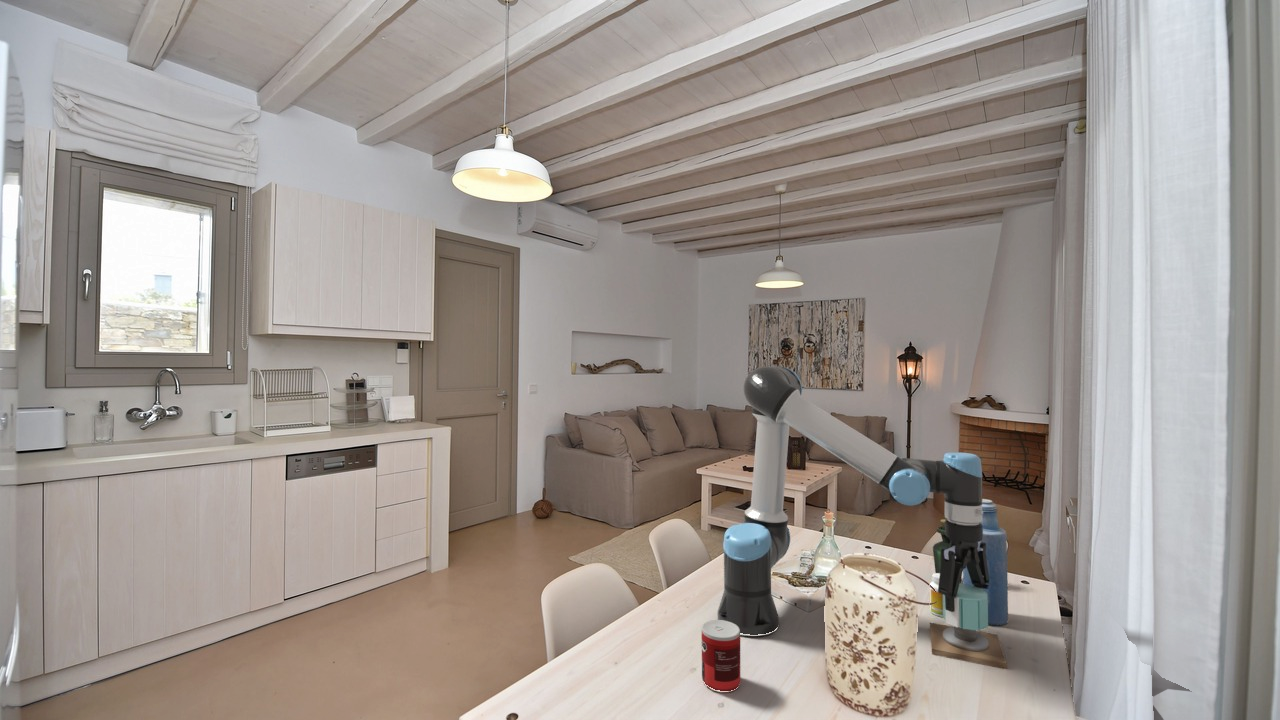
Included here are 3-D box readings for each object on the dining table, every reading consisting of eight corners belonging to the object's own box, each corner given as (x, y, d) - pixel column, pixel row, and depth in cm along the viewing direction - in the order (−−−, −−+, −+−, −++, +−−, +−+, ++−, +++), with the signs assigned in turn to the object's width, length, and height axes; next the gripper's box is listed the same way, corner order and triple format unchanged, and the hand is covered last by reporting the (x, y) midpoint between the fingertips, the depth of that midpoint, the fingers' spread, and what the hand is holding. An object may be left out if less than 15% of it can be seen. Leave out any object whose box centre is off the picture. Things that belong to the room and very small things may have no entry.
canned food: (714, 667, 116) (713, 616, 117) (747, 681, 111) (747, 627, 112) (694, 683, 111) (693, 629, 111) (728, 698, 106) (728, 641, 106)
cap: (973, 633, 119) (972, 601, 119) (934, 617, 127) (934, 587, 127) (996, 624, 123) (995, 593, 123) (957, 609, 131) (957, 580, 131)
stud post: (932, 654, 122) (931, 601, 122) (929, 627, 134) (929, 580, 134) (1006, 669, 115) (1005, 614, 116) (997, 639, 128) (996, 589, 128)
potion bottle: (968, 588, 158) (967, 525, 158) (937, 585, 160) (936, 524, 160) (958, 577, 166) (958, 518, 166) (929, 575, 168) (928, 516, 168)
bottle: (1017, 621, 137) (1015, 502, 137) (992, 629, 133) (990, 506, 133) (979, 606, 146) (977, 494, 146) (955, 614, 141) (953, 498, 142)
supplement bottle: (956, 619, 139) (956, 580, 139) (933, 617, 140) (933, 579, 140) (949, 609, 144) (948, 572, 144) (926, 608, 145) (926, 571, 145)
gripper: (951, 532, 117) (952, 638, 116) (1006, 518, 127) (1008, 616, 127) (918, 523, 123) (920, 624, 123) (973, 511, 134) (975, 603, 133)
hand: (964, 619), depth 125 cm, fingers closed on cap, 9 cm apart
